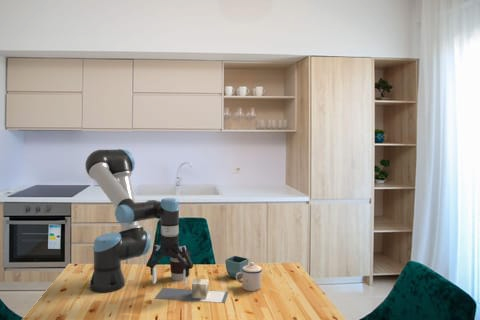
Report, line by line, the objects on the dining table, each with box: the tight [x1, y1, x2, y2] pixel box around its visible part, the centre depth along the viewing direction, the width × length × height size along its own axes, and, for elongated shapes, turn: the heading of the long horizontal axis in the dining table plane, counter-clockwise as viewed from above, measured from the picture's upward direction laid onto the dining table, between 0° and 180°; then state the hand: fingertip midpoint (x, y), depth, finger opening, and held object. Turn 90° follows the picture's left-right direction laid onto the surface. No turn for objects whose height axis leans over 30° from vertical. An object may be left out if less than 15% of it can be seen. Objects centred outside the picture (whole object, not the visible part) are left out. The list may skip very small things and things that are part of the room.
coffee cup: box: [168, 248, 191, 282], centre depth 186 cm, size 10×10×15 cm
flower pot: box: [224, 255, 250, 280], centre depth 191 cm, size 9×9×9 cm
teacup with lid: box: [235, 261, 263, 292], centre depth 177 cm, size 12×9×12 cm
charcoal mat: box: [153, 287, 230, 304], centre depth 166 cm, size 30×12×1 cm, turn 84°
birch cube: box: [191, 278, 210, 299], centre depth 166 cm, size 6×6×6 cm
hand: (169, 283), depth 167 cm, fingers open, 13 cm apart
